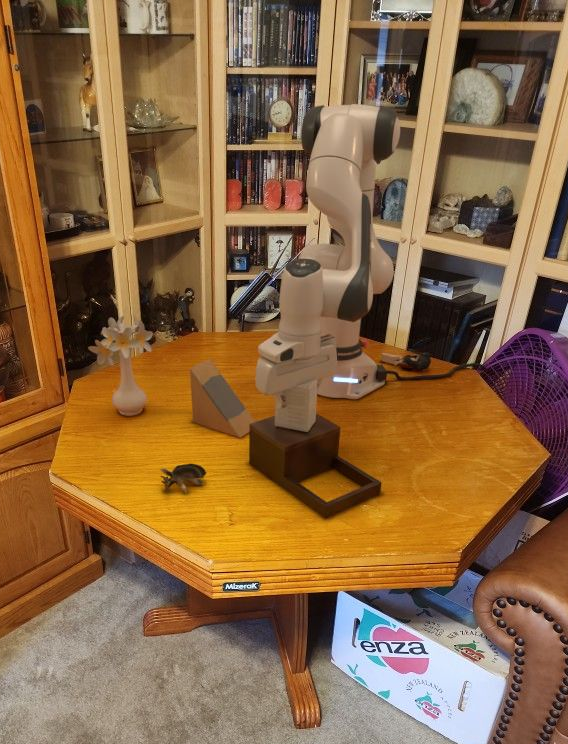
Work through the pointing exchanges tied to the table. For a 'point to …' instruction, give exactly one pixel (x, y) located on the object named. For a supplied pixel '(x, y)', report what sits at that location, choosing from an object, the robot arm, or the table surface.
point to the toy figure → (409, 360)
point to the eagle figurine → (183, 475)
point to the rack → (306, 462)
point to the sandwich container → (217, 401)
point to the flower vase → (124, 362)
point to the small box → (298, 407)
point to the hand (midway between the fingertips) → (296, 402)
